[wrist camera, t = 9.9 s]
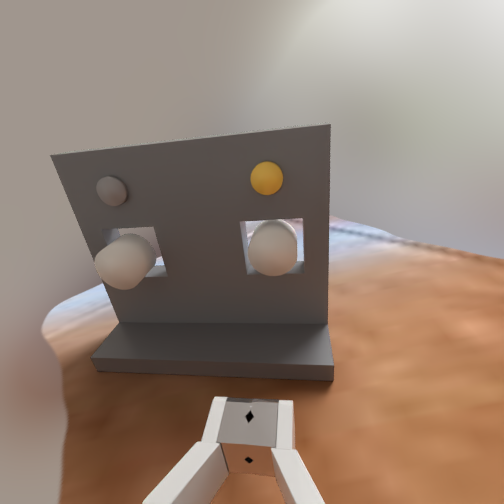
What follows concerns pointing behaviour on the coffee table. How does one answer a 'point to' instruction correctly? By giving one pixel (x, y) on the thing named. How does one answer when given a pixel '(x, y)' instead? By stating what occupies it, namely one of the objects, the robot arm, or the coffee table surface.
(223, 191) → the control panel
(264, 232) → the beige rounded lump
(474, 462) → the coffee table surface
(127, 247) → the unlit button
